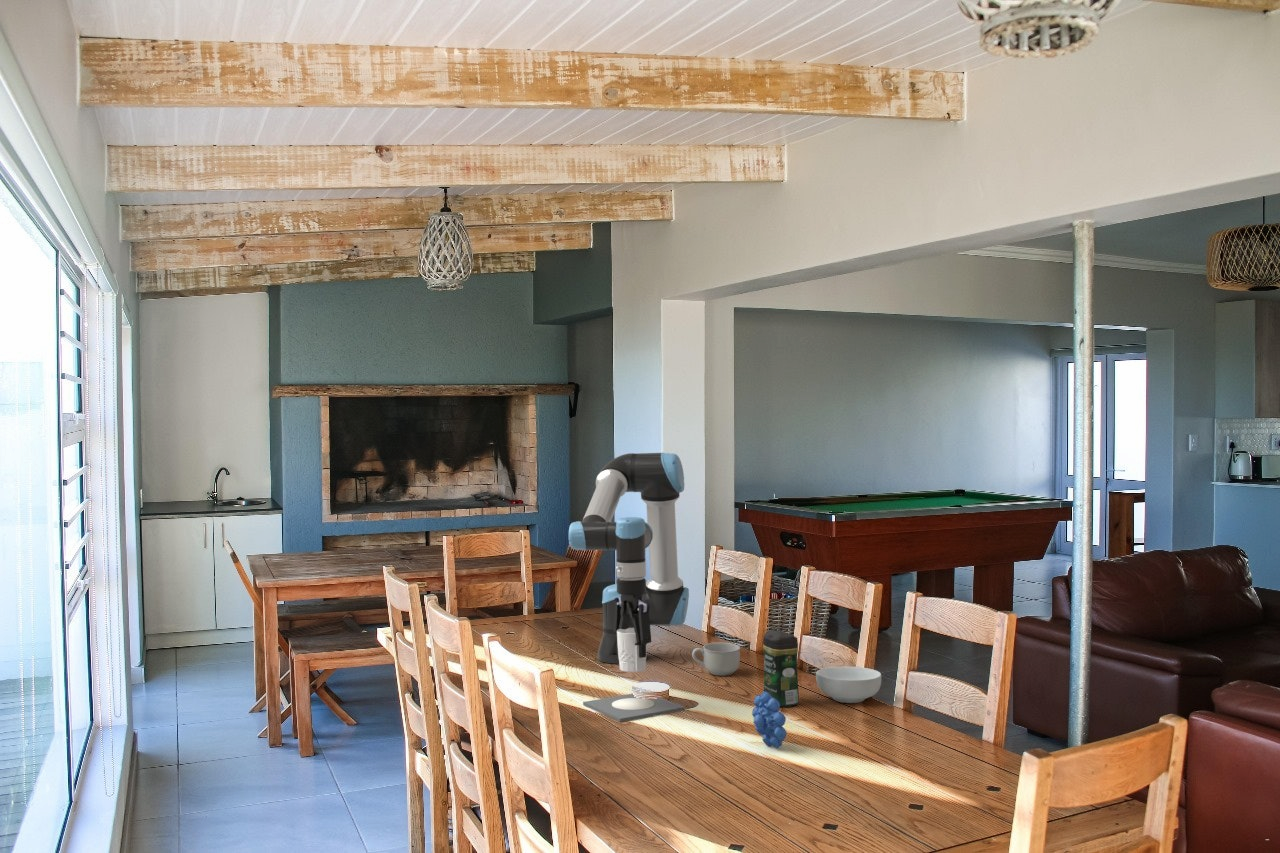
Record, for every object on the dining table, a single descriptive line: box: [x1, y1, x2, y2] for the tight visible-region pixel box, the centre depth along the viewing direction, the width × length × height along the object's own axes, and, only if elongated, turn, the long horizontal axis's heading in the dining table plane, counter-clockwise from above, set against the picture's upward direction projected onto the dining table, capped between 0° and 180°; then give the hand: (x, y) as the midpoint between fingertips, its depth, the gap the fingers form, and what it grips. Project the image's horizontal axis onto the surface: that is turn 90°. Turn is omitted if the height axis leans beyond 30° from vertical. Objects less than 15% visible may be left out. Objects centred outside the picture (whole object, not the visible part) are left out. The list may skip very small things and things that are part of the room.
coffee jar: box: [762, 629, 800, 708], centre depth 280 cm, size 10×8×19 cm
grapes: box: [751, 691, 787, 749], centre depth 244 cm, size 12×7×12 cm, turn 28°
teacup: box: [691, 641, 741, 677], centre depth 314 cm, size 14×11×8 cm
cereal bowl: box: [815, 666, 882, 704], centre depth 283 cm, size 17×17×7 cm
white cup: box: [617, 628, 648, 673], centre depth 278 cm, size 8×8×10 cm
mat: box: [582, 693, 685, 723], centre depth 278 cm, size 19×19×1 cm
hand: (632, 666), depth 278 cm, fingers closed on white cup, 7 cm apart
